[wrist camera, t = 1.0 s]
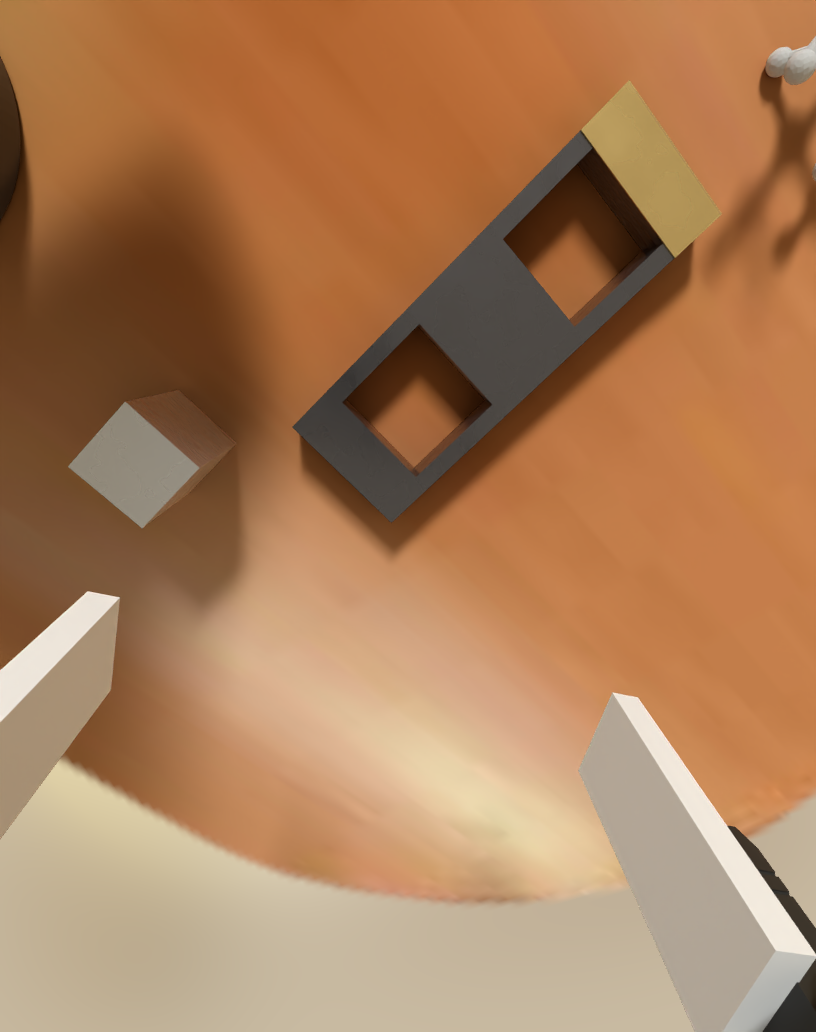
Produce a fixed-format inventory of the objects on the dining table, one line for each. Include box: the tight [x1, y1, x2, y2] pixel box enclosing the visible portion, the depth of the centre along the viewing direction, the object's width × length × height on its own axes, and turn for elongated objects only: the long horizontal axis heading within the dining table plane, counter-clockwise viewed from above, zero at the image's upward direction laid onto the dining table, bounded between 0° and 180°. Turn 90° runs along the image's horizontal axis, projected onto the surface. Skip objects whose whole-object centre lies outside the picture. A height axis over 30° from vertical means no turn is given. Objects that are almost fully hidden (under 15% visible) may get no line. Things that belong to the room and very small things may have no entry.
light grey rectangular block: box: [68, 390, 237, 528], centre depth 30 cm, size 4×4×7 cm
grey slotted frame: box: [293, 80, 722, 523], centre depth 31 cm, size 8×24×3 cm, turn 134°
